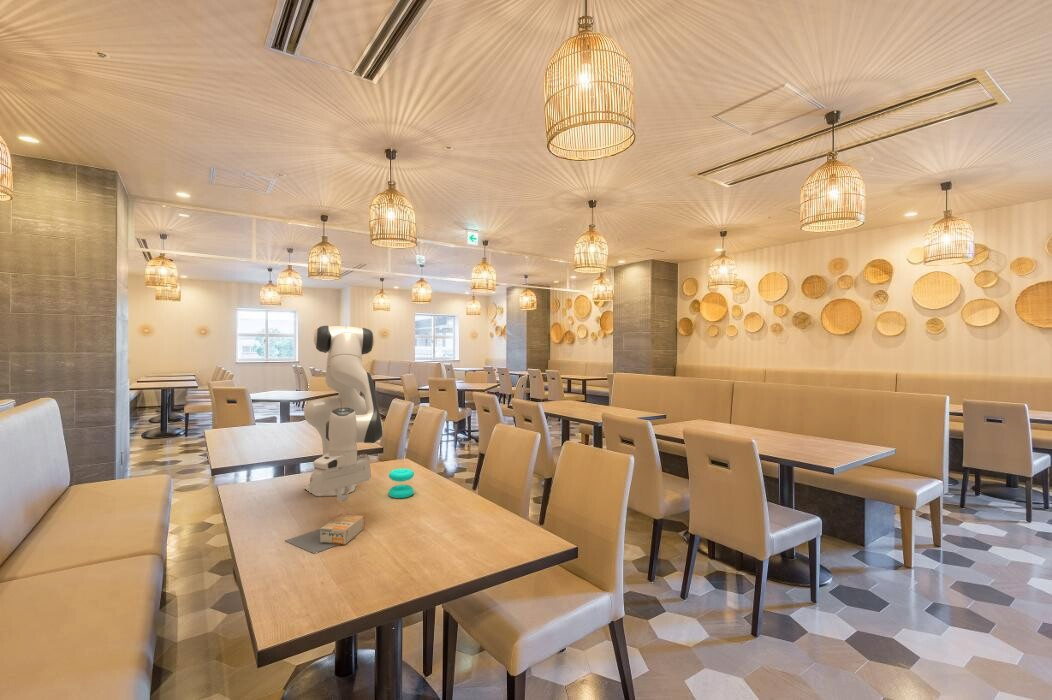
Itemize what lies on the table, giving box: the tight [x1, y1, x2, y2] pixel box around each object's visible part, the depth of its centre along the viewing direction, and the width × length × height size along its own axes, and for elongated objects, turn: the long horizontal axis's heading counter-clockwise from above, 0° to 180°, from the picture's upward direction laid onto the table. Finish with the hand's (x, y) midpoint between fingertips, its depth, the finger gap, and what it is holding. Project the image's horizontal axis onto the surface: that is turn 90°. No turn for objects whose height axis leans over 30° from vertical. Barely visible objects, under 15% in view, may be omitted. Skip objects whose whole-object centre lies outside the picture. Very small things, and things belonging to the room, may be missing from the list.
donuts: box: [388, 468, 415, 499], centre depth 198 cm, size 10×10×10 cm
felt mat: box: [284, 528, 356, 554], centre depth 152 cm, size 16×14×1 cm
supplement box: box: [320, 514, 365, 545], centre depth 154 cm, size 8×5×13 cm
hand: (342, 500), depth 159 cm, fingers closed
